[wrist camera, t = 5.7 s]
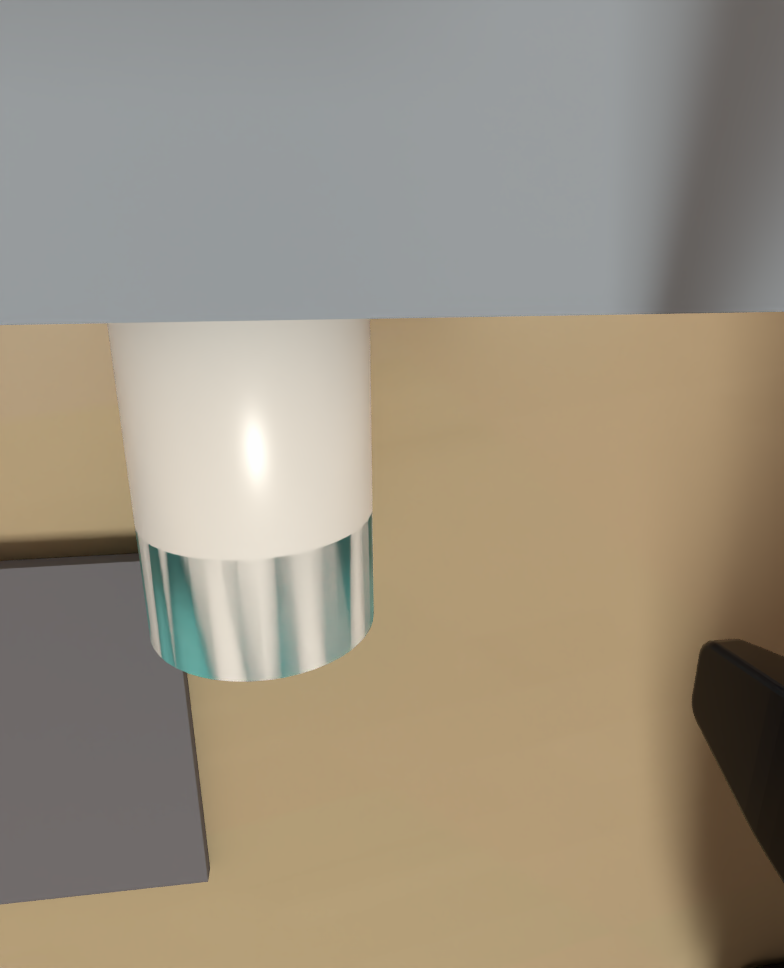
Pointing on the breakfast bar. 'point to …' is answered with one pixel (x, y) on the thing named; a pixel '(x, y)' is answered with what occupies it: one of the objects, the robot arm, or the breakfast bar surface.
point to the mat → (91, 737)
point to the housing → (389, 159)
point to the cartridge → (250, 489)
